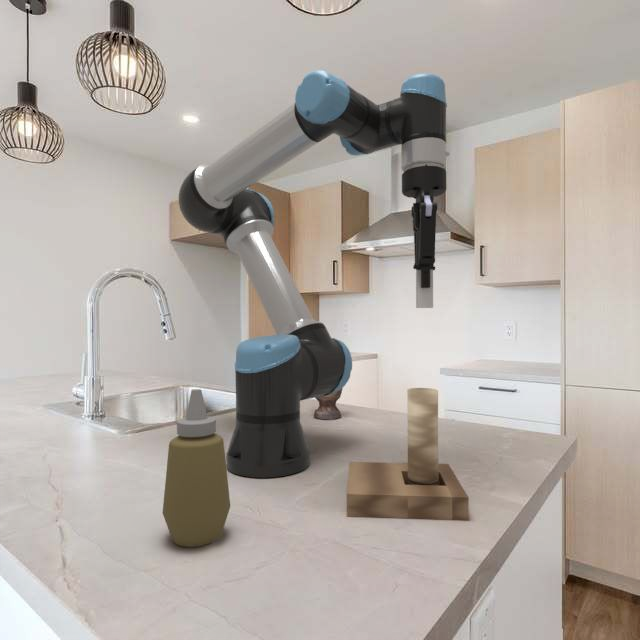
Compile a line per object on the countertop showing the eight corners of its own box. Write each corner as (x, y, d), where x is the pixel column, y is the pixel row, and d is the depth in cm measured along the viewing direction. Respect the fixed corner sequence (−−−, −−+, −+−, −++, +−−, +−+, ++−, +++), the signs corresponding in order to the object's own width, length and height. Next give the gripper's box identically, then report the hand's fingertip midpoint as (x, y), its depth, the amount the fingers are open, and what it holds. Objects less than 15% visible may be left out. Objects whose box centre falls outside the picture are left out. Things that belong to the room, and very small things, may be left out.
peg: (409, 504, 66) (408, 392, 66) (406, 492, 70) (405, 387, 70) (441, 505, 65) (440, 392, 65) (436, 493, 70) (435, 388, 70)
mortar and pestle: (296, 415, 126) (296, 343, 126) (317, 411, 132) (317, 341, 132) (329, 422, 118) (328, 344, 118) (349, 416, 125) (349, 343, 125)
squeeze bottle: (235, 521, 60) (234, 384, 60) (224, 552, 52) (223, 395, 52) (173, 522, 60) (172, 385, 60) (153, 554, 52) (152, 395, 52)
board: (346, 516, 62) (346, 493, 62) (349, 479, 76) (349, 461, 76) (468, 520, 60) (468, 497, 60) (448, 482, 74) (448, 463, 74)
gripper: (453, 156, 72) (453, 306, 72) (440, 181, 85) (440, 308, 85) (404, 158, 73) (405, 307, 73) (399, 182, 86) (399, 308, 86)
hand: (424, 307), depth 79 cm, fingers closed
